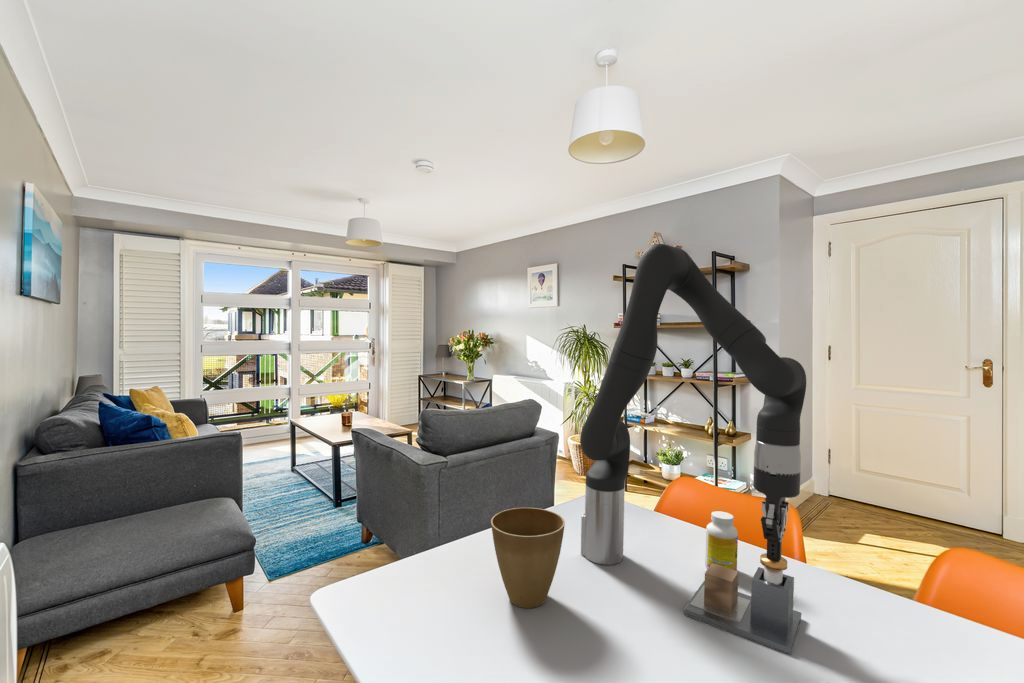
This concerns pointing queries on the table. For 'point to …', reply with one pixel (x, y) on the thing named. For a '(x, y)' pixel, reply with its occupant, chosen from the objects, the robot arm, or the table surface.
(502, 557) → the plant pot
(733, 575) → the block
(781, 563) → the plunger
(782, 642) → the grey assembly fixture
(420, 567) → the table surface
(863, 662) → the table surface
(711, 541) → the supplement bottle
